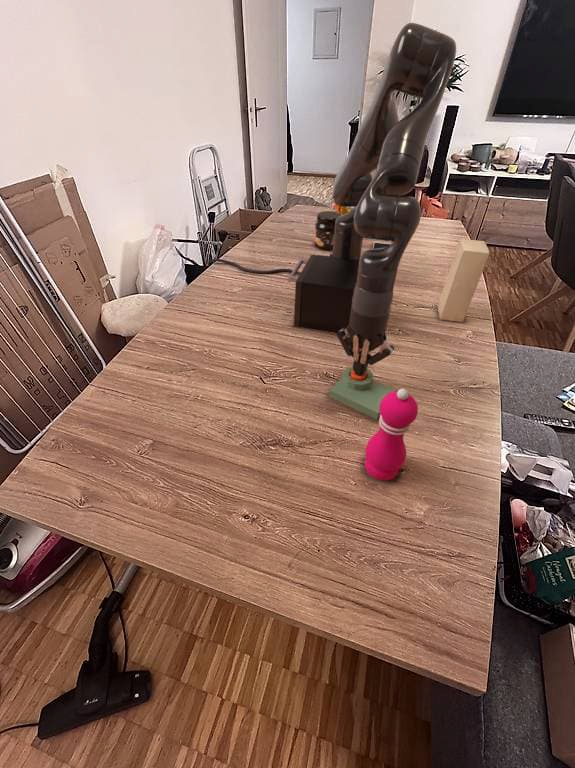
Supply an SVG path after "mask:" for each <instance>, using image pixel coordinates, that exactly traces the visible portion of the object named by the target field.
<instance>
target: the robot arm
mask: <svg viewBox="0 0 575 768" xmlns="http://www.w3.org/2000/svg"><path fill="white" fill-rule="evenodd" d="M456 56H457V44H456V41H455V39H454V38H452V37H451V36H449V35H447V34H445V33H443V32H440V31H439V30H435V29H433V28H431V27H428V26H426V25H422V24H421V23H415V22H408V23H406V24H405V25H404V26H403V27H402V28H401V30H400V31H399V33H398V34H397V36H396V38H395V40H394V41H393V44H392V47H391V50H390V52H389V54H388V57H387V60H386V63H385V64H384V69H383V71H382V74H381V77H380V78H379V82H378V84H377V88H376V90H375V93H374V95H373V98H372V101H371V102H370V105H369V107H368V109H367V111H366V113H365V116H364V117H363V120H362V121H361V124H360V125H359V127H358V131H357V133H356V135H355V138H354V140H353V143H352V146H351V148H350V149H349V153H348V154H347V156H346V159H345V160H344V162H343V164H342V165H341V167H340V168H339V170H338V172H337V174H336V176H335V178H334V181H333V184H332V191H331V195H332V200H333V202H334V205H335V204H336V205H338V206H341V207H348V208H351V207H353V209H352V210H350V211H349V212H348V213H346V214H344V215H341V216H339V217H338V218H337V219H336V222H335V232H334V243H333V250H331V251H330V252H329V256H331V257H339V258H347V259H355V260H359V266H358V274H357V281H356V285H355V289H354V292H353V297H352V306H351V313H350V320H349V325H348V326H347V328H342V329H341V330H340V331H339V332H338V333H336V337H337V339H338V340H339V342H340V344H341V346H342V348H343V350H344V352H345V353H346V355H347V356H348V357H352V359H353V364H352V366H353V371H355V372H354V374H357V375H359V376H361V375H363V374H364V373H365V372H366V371H367V369H368V368H369V367H368V366H369V365H370V366H373V365H375V364H377V363H378V362H380V361H382V360H384V359H385V358H387V357H389V356H390V355H391V354H392V353H393V352H394V350H395V346H394V345H392V344H389V343H388V342H387V335H386V331H387V326H388V322H389V318H390V313H391V309H392V303H393V299H394V288H395V284H396V279H397V274H398V270H399V267H400V264H401V261H402V257H403V255H404V253H405V251H406V249H407V247H408V245H409V243H410V242H411V240H412V238H413V236H414V235H415V233H416V231H417V229H418V227H419V224H420V222H421V218H422V208H421V204H420V202H419V200H418V199H417V198H416V197H414V196H411V195H407V194H409V193H410V192H411V191H412V190H413V189H414V187H415V186H416V184H417V181H418V177H419V173H420V169H421V168H420V167H421V163H422V160H423V155H424V150H425V146H426V142H427V140H428V136H429V133H430V131H431V128H432V125H433V122H434V121H435V118H436V116H437V113H438V110H439V108H440V105H441V101H442V99H443V96H444V93H445V90H446V88H447V85H448V82H449V80H450V77H451V73H452V70H453V67H454V63H455V60H456ZM396 91H397V92H400V93H403V94H406V95H407V96H411V97H414V98H415V99H420V102H419V103H418V105H416V106H415V107H414V108H413V109H412V110H411V111H410V112H409V113H407V114H406V115H405V116H403V117H402V118H401V119H400V120H399V114H398V109H397V105H396V101H395V100H396V99H395V97H396V96H395V95H396V94H395V92H396ZM374 171H375V173H374V175H372V173H373V172H374ZM364 239H369V240H375V241H376V240H378V241H383V242H390V243H391V244H390V245H389V246H387V247H384V248H378V249H373V248H372V249H367V250H365V251H363V250H362V249H363V243H364ZM362 251H363V252H362ZM214 262H219V263H224V264H228V265H231V266H234V267H236V268H238V269H239V270H241V271H244V272H247V273H252V274H262V275H263V274H264V275H265V274H274V273H281V272H285V273H286V272H288V273H290V274H291V273H292V271H293V270H294V269H290V268H277V269H271V270H257V269H250V268H246V267H243V266H241V265H239V264H238V263H236V262H233V261H230V260H226V259H222V258H213V259H210V260H208V261H207V263H206V264H207V265H211V264H212V263H214ZM301 272H302V271H301ZM301 272H300V271H298V272H297V273H296V275H298V276H299V275H300V273H301ZM379 347H380V348H379ZM378 348H379V351H378V352H376V353H375V354H373V355H372V353H373V351H375V350H377V349H378Z"/></svg>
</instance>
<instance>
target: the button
mask: <svg viewBox="0 0 575 768" xmlns="http://www.w3.org/2000/svg"><path fill="white" fill-rule="evenodd" d="M354 372H355V371H353V369H352V370H351V374H350V377H351V378H352V379H353V380H356V381H363V380H366V376H367V373H366V372H365V373H364V374H363V375H361V376H359V375H357V374H354Z"/></svg>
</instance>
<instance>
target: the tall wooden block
mask: <svg viewBox="0 0 575 768" xmlns="http://www.w3.org/2000/svg"><path fill="white" fill-rule="evenodd" d="M489 256H490V250H489V248H488V246H487V244H486V242H485V241H484V240H476V239H464V238H460V239H459V240H458V243H457V246H456V249H455V252H454V254H453V257H452V261H451V264H450V267H449V270H448V273H447V276H446V279H445V282H444V286H443V288H442V290H441V291H442V292H441V294H440V298H439V300H438V303H437V311H438V317H439V320H441V321H449V322H456V323H457V322H458V323H463V322H464V321H465V317H466V315H467V312H468V310H469V307H470V304H471V303H472V300H473V298H474V294H475V292H476V290H477V287H478V285H479V282H480V279H481V276H482V274H483V272H484V269H485V267H486V264H487V262H488V260H489Z"/></svg>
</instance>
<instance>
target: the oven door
mask: <svg viewBox="0 0 575 768" xmlns="http://www.w3.org/2000/svg"><path fill="white" fill-rule="evenodd" d="M317 255H318V254H311V255H310V256H309V258H304V257H300V258H299V260H298V262H297V263H296V265H295V266H294V268H293V269H292V270H293V271H292V273H291V272H290V275H289V276H288V277H287V282H288V283H295V290H294V291H295V292H294V314H293V318H294V319H293V326H294V327H298V328H299V327H300V319H301V292H302V281H303V279H304V277H305V276H306V274H307V272H308V270H309V268H310V267H311V265H312V263H313V261H314V259H315V257H316V256H317ZM302 265H304V267H303V268H302V270H301V273H300V275H298V276H296V275H297V274H296V273H297V272H299V270H300V268H301V267H302Z"/></svg>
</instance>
